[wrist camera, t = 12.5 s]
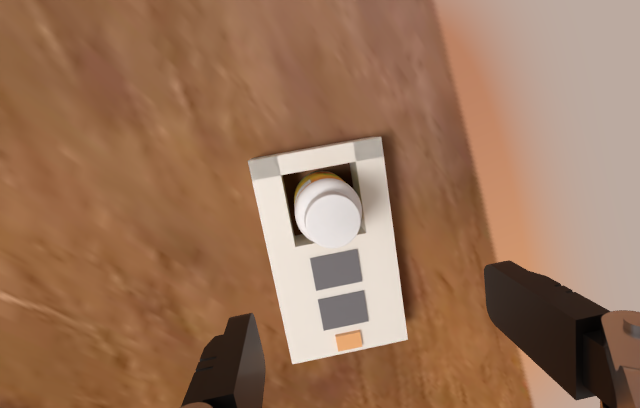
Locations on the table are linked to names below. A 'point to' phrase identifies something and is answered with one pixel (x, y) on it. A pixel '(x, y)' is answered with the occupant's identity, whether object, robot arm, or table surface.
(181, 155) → the table surface
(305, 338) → the white bottle holder
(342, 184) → the supplement bottle
